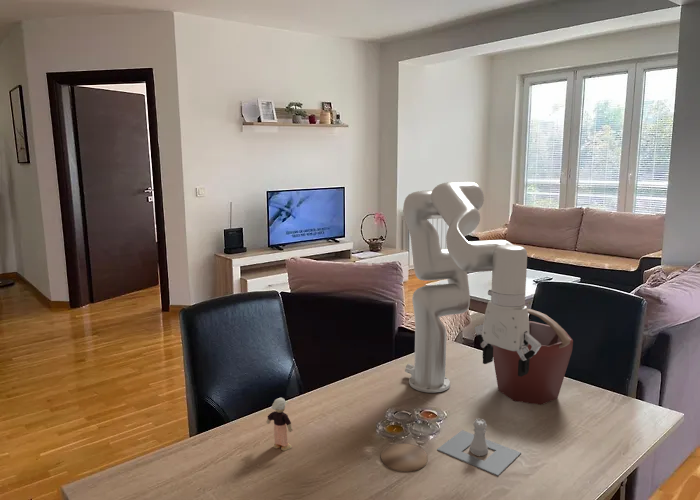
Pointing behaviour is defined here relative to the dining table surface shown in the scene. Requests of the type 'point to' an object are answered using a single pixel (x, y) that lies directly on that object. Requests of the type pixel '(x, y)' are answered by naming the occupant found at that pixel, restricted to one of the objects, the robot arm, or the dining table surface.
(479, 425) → the rook chess piece
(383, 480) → the dining table surface
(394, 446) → the walnut coaster
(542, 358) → the bucket
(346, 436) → the dining table surface
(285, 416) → the grandmother figurine
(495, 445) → the grey frame plate
